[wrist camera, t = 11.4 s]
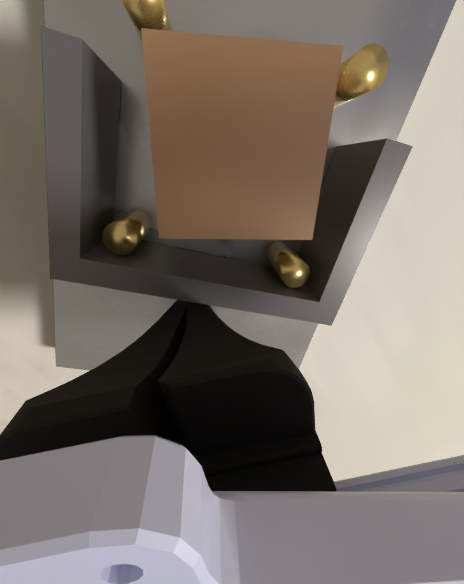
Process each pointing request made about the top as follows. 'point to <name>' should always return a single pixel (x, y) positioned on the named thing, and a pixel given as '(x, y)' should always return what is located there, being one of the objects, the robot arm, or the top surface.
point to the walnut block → (238, 133)
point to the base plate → (138, 155)
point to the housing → (174, 261)
